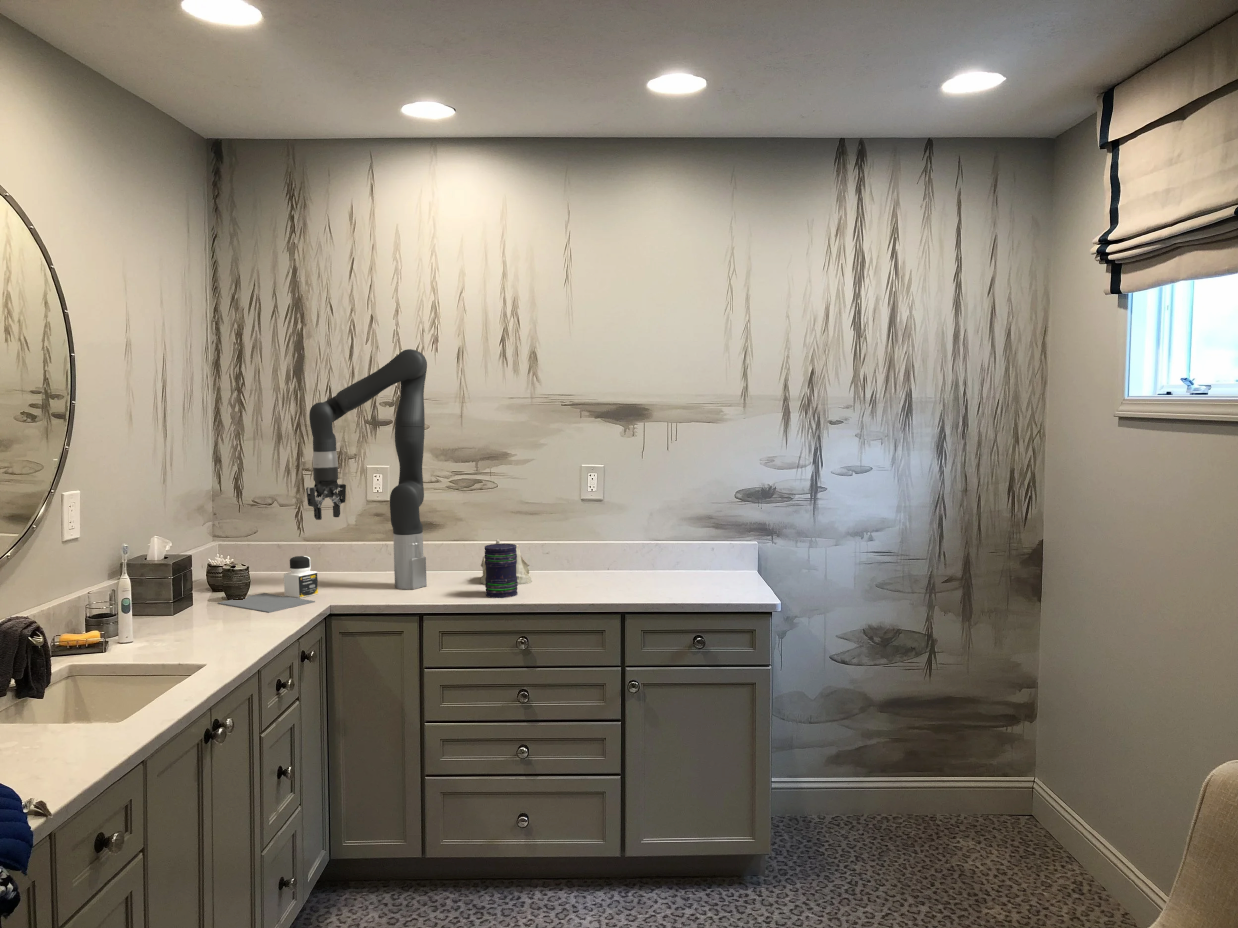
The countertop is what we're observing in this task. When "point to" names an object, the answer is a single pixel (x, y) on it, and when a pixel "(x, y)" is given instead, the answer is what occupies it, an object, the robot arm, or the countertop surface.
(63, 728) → the countertop surface
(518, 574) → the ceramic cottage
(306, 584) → the medicine bottle
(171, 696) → the countertop surface
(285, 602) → the rubber mat
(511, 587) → the storage jar
